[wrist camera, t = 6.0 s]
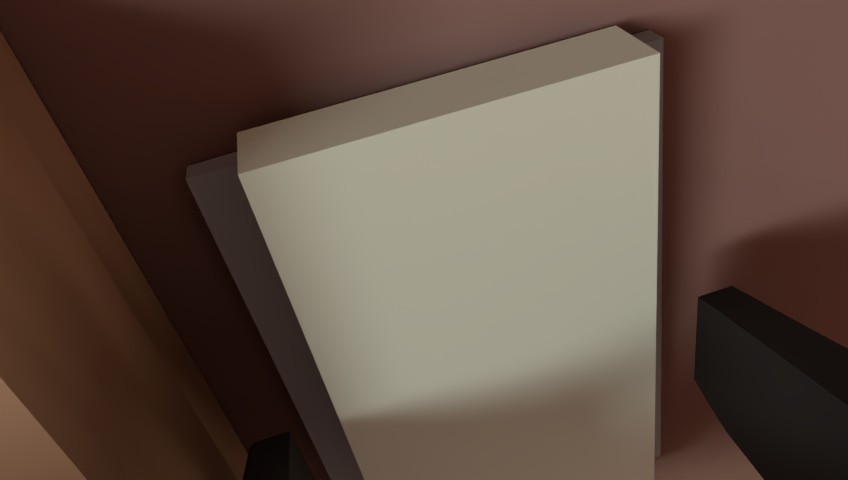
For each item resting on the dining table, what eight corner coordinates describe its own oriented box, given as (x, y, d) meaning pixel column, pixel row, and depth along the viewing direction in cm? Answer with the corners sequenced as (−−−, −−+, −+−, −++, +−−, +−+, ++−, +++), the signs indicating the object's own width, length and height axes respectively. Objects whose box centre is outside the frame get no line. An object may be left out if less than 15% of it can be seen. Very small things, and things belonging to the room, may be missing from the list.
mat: (652, 442, 16) (660, 456, 16) (365, 541, 15) (368, 557, 15) (649, 29, 10) (663, 38, 10) (186, 166, 10) (184, 179, 9)
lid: (627, 473, 16) (653, 519, 15) (403, 549, 15) (414, 601, 14) (615, 25, 9) (660, 53, 8) (237, 133, 9) (237, 174, 8)
